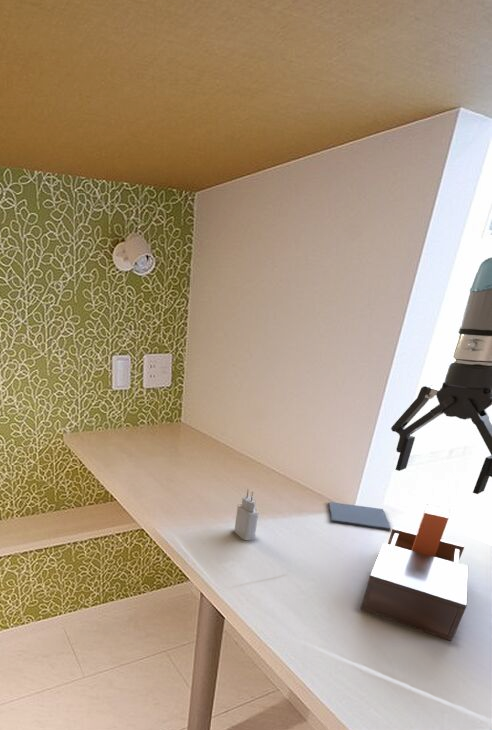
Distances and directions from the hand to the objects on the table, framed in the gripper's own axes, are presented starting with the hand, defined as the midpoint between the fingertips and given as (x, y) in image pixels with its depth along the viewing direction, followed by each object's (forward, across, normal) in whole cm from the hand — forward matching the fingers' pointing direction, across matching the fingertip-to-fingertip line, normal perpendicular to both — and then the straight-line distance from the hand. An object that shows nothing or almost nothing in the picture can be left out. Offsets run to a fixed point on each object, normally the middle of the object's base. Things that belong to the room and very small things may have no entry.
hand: (437, 479), depth 82 cm
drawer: (+21, 0, +5) cm, 22 cm away
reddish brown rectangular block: (+20, +1, +3) cm, 20 cm away
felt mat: (+22, -22, +19) cm, 37 cm away
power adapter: (+22, -32, -15) cm, 41 cm away
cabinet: (+22, +5, -8) cm, 24 cm away
